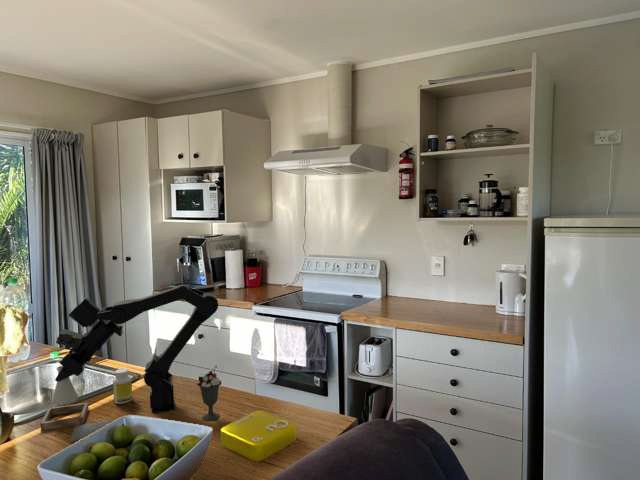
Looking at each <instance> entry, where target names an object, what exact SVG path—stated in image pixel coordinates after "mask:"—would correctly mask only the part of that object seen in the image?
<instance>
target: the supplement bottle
mask: <svg viewBox="0 0 640 480" xmlns="http://www.w3.org/2000/svg"><path fill="white" fill-rule="evenodd" d="M129 374H130V372H129V368H119V369H116V370H115V372H114V376H115V377H114V378H113V380H112V386H113V390H112V391H113V402H114V404H117V405H120V404H122V405H123V404H126V403H129V402H131V401H132V400H133V385H132V384H133V383H132V381H133V380H132V376H130V375H129Z"/></svg>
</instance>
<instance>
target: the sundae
mask: <svg viewBox="0 0 640 480" xmlns="http://www.w3.org/2000/svg"><path fill="white" fill-rule="evenodd" d="M216 368H218V366H217V365H215V366H214V367H213V368H212V370H210V371H208V373H205V375H204V376H203V377H202V376H198V377H197V378H198V380H199V383H198V382H197V387H199V388H200V393H201V397H202V401H203V404H204V405H206V406H207V407H208V408H207V409H208V411H207V413H206V414H204V415H202V418H201V419H202V420H203V421H207V422H212V421H216V420H218V419H219V418H220V414H219V413H218V412H214V409H213V406H215V404H216V403H218V402H217V401H218V398H219V389H220V386H221V385H222V380H220V379H219V377H217V373H216V372H215V370H216Z"/></svg>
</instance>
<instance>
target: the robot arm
mask: <svg viewBox="0 0 640 480" xmlns="http://www.w3.org/2000/svg"><path fill="white" fill-rule="evenodd" d="M179 300H183V301H185V302H187V303H188V304H190V305H192V306H194V309H193V311H192V313H191V315H190V317H188V319H187V321H185V323H184V324H183V326H182V327H181V329H180V330H179V331H178V332H177V334H176V335H175V337H173V339H172V340H171V341H170V343H169V344H168V346H167V347H166V348H165V349H164V351H163V352H162V353H161V354H160V355H157V354H156V353H154V354H153V355H152V358H151V360H150V361H148V362H147V363H146V365H145V368H144V375H143V382H144V384H145V385H146V386H147V387H150V389H151V392H149V408H150V409H151V413H153V414H154V413H160V412H161V413H162V412H166V411H167V412H168V411H173V410H175V409H176V405H175V396H174V395H175V391H174V384H173V378H174V375H173V374H172V373H171V372H169V371H170V368H171V367H172V364H173V363H174V361H175V359H176V358H177V357H178V355H179V354H180V353H181V352H182V350H183V349H184V347H186V345H187V343H188V342H189V340H191V338H192V337H193V335H194V334H195V333H196V331H197V330H198V329H199V328H200V326H201V325H202V324H203V323H205V322H206V321H208V320H209V318H211V317H212V316H213V315H214V314H215V313H216V312H217V310H218V309H219V302H218V297H217V296H216V294H214V293H213V292H204V291H201V290H199V289H196V288H193V287H191V286H189V285H187V284H185V283H181V284H179V285H177V286H175V287H171V288H169V289H166V290H162V291H160V292H157V293H154V294H151V295H148V296H145V297H141V298H135V299H134V298H133V299H131V298H130V299H125V300H118V301H117V302H115V303H114V304H113V305H110V306H106V307H101V308H100V307H98V306H97V305H96V304H95V303H93V302H92V301H91V300H90V299H89V298H88V297H85V298H84V299H83V300H82V301H81V302H80V303H79V304H78V305H77V306H75V307H74V308H73V309H72V310H71V312H70V313H68V315H67V316H68V317H69V318H70V319H72V320H73V321H74V322H75V323H77V324H78V325H79V326H81V327H83V328H91V329H90V330H89V331H87V332H85V333H84V334H80V333H78V332H77V331H73V330H69V329H62V330H61V331H60V332H59V334H58V337H56V342H55V343H56V344H57V345H60V346H61V345H62V346H66V347H68V348H71V349H69V351H68V353H67V354H65V355H64V357H63V358H62V359H61V360H60V361H59V362H58V363H59V364H60V366H63V368H62V369H61V371H60V372H59V374H58V373H57V376H56V377H55V381H56V383H57V382H59V381H61V380H63V379H66V378H68V377H69V378H71V377H72V376H77V377H79V376H80V375H81V374H82V373H83V372H84V370H85V369H86V367H87V366H86V364H87V363H89V362H90V361H91V360H92V358H93V357H94V356H95V355H96V353H98V352H99V351H100V350H101V349H102V348H103V346H104V345H105V344H106V343H107V342H108V341H109V340H110V339H111V338H112V336H114V334H116V335H117V336H119V337H121V336H122V335H123V334H124V330H123V328H124V325H123V324H125V323H127V322H129V321H131V320H132V319H134V318H135V317H138V316H139V315H140V314H141V315H142V313H144V312H148V311H150V310H153V309H156V308H159V307H162V306H165V305H168V304H171V303H173V302H177V301H179ZM97 320H98V321H97ZM96 321H97V322H96ZM95 322H96V323H95ZM92 325H93V326H92ZM91 326H92V327H91Z"/></svg>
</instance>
